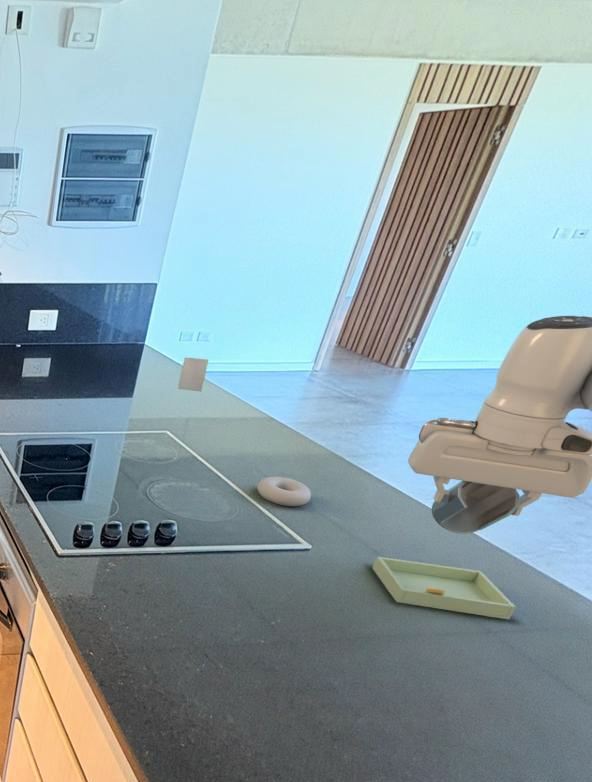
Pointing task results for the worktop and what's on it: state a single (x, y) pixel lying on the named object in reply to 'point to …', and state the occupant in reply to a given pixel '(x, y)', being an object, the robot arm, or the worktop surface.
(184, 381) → the pinkish tan block
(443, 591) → the key
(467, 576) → the tray
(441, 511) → the steel cup
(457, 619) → the worktop surface
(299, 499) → the donut
